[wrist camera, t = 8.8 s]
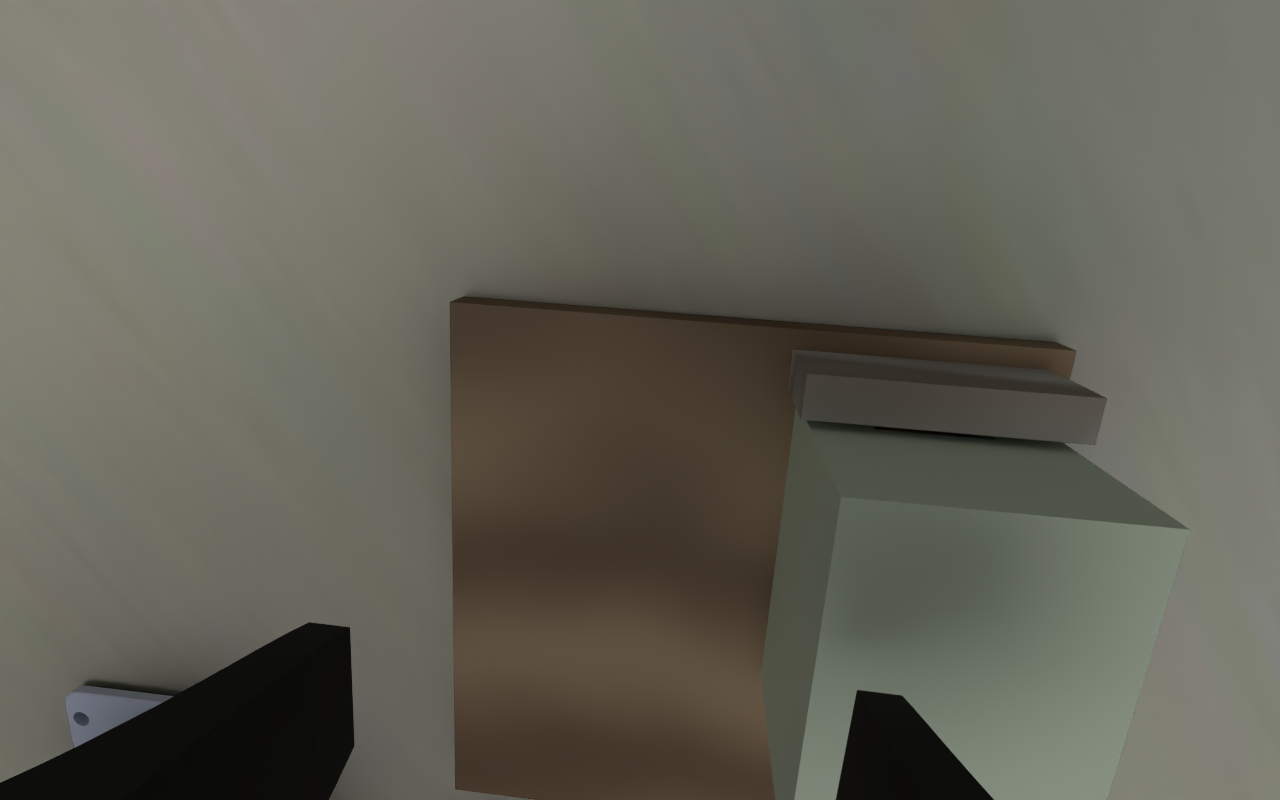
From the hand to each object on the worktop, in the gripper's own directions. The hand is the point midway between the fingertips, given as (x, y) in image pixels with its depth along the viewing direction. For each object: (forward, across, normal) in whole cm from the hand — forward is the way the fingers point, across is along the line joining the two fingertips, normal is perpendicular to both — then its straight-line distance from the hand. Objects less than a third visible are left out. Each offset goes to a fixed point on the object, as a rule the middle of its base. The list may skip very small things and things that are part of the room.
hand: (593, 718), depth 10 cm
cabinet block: (+9, -6, +1) cm, 11 cm away
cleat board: (+10, -2, +3) cm, 11 cm away
